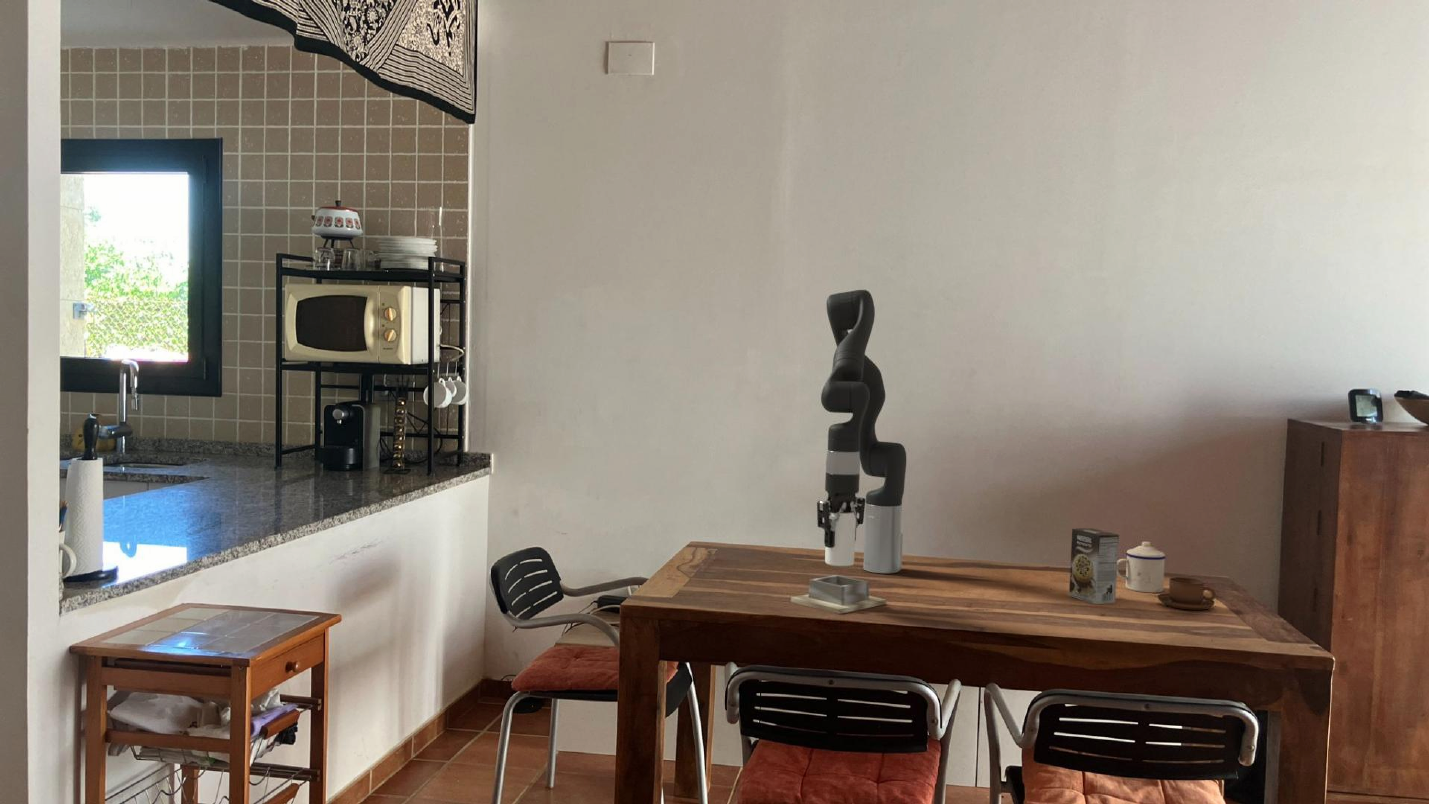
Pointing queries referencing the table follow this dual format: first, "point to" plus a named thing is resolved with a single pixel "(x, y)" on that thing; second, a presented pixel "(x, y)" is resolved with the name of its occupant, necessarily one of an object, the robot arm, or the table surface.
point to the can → (842, 541)
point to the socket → (838, 595)
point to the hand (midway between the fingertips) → (839, 545)
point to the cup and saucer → (1187, 594)
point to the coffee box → (1093, 565)
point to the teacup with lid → (1144, 569)
